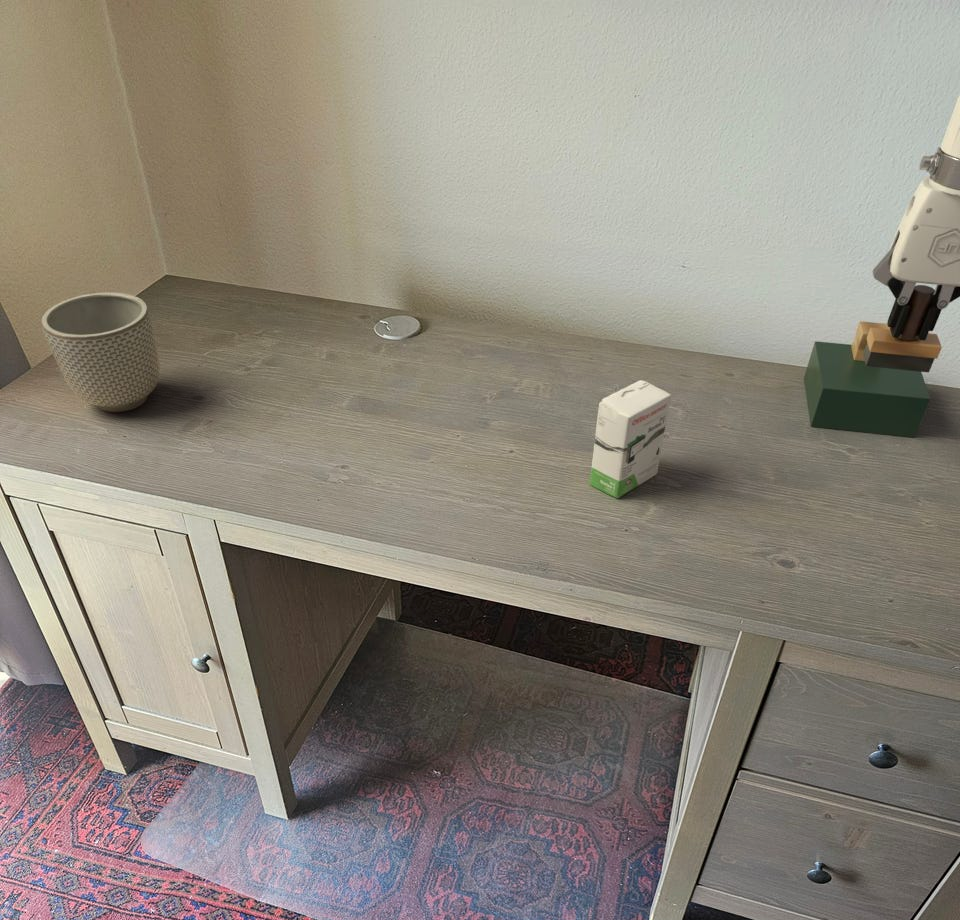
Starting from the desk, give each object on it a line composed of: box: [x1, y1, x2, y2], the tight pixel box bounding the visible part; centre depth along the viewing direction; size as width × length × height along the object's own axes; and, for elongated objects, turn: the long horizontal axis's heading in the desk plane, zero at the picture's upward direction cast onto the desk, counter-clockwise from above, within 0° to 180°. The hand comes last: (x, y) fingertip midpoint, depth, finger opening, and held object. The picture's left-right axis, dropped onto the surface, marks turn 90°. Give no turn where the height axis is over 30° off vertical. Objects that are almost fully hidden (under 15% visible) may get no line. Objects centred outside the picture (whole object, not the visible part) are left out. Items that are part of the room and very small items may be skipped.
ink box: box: [589, 379, 672, 499], centre depth 108 cm, size 9×5×12 cm, turn 134°
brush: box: [863, 284, 943, 373], centre depth 105 cm, size 8×4×10 cm, turn 79°
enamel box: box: [803, 341, 931, 438], centre depth 123 cm, size 14×14×6 cm
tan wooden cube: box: [851, 320, 890, 361], centre depth 122 cm, size 4×4×4 cm
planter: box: [40, 291, 161, 413], centre depth 120 cm, size 14×14×13 cm
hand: (907, 332), depth 106 cm, fingers closed on brush, 2 cm apart
